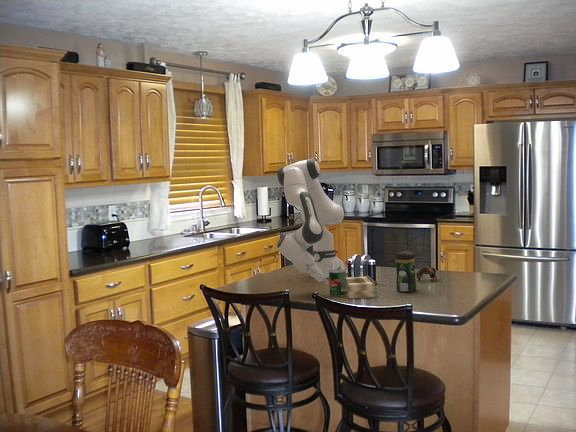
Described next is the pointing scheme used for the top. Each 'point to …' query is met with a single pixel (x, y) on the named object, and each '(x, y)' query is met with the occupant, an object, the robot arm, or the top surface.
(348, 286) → the holder
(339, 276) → the canned tomato
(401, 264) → the coffee jar
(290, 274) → the top surface
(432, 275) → the brown arched piece
